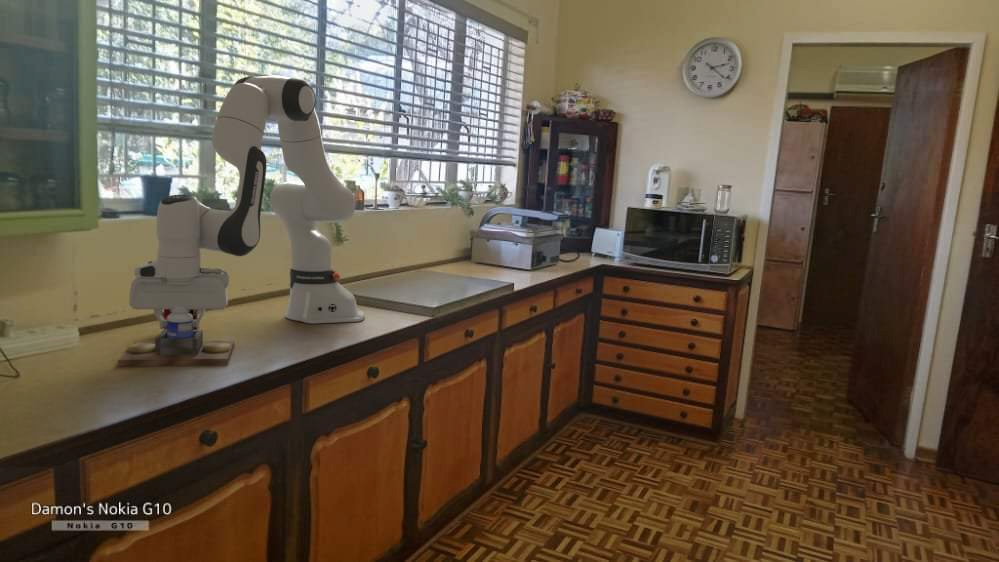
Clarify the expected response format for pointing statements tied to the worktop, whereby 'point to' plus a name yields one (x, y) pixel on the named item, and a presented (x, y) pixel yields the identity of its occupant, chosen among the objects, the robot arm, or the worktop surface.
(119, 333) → the worktop surface
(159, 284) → the robot arm
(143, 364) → the board
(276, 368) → the worktop surface
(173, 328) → the pill bottle
